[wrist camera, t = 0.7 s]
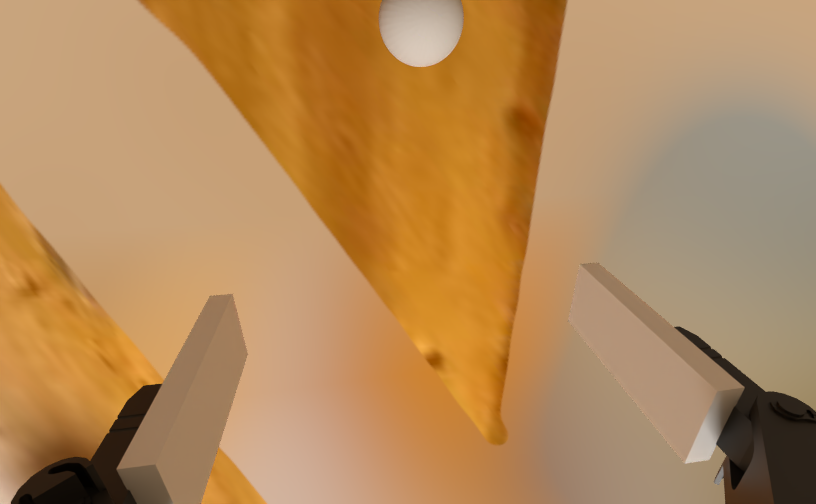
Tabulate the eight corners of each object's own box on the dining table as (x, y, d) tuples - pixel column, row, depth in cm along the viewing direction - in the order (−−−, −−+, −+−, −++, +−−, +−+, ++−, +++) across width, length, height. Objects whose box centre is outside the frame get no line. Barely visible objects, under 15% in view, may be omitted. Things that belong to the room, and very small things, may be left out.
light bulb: (377, -23, 33) (390, -50, 24) (447, -7, 34) (483, -27, 25) (368, 57, 35) (376, 59, 26) (433, 69, 36) (462, 75, 27)
